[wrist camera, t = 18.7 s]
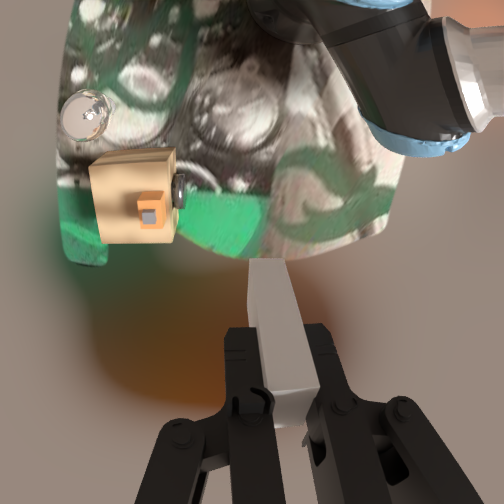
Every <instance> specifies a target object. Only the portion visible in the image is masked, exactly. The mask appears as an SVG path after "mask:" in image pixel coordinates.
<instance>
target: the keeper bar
mask: <svg viewBox="0 0 504 504" xmlns="http://www.w3.org/2000/svg"><path fill="white" fill-rule="evenodd" d="M137 204H138V212H139V220H140V227H141V229H163V227H164V224H165V221H166V218H167V217H166V205H165V192H164V191H148V192H142V194H141V195H140V197H139V199H138V200H137Z"/></svg>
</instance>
